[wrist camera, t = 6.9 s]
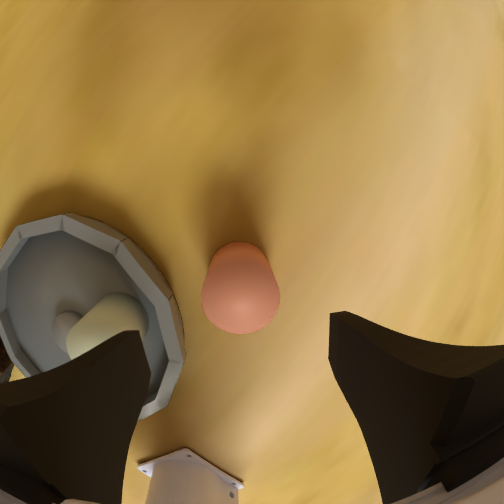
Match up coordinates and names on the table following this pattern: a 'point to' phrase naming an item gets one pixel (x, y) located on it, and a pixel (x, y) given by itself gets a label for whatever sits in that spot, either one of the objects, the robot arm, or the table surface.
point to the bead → (240, 289)
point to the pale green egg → (107, 322)
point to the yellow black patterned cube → (5, 364)
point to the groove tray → (83, 296)
